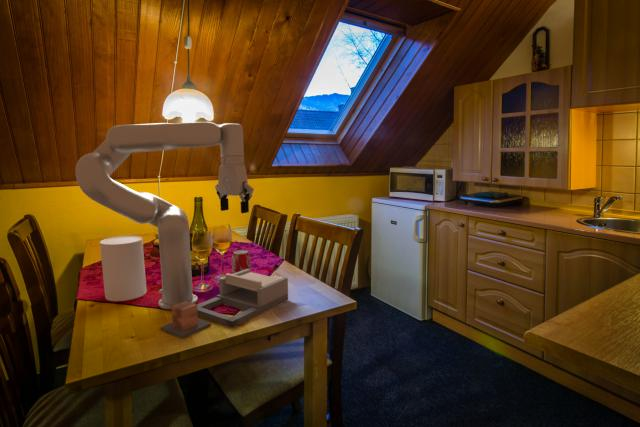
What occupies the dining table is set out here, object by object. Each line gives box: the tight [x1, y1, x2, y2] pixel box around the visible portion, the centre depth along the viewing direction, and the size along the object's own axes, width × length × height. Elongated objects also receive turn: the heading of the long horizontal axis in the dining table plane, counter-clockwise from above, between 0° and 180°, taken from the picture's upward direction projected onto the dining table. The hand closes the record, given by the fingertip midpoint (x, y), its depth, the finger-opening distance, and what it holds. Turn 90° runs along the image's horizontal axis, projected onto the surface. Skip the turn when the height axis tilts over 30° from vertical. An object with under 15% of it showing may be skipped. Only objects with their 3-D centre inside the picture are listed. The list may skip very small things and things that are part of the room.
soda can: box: [231, 249, 252, 274], centre depth 161 cm, size 7×7×12 cm
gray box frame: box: [196, 269, 289, 329], centre depth 136 cm, size 19×26×8 cm
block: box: [171, 301, 199, 330], centre depth 121 cm, size 5×5×6 cm
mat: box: [160, 318, 212, 339], centre depth 121 cm, size 10×10×1 cm
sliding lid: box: [224, 271, 280, 291], centre depth 141 cm, size 15×12×3 cm
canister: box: [99, 235, 148, 302], centre depth 147 cm, size 14×14×20 cm
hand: (234, 211), depth 141 cm, fingers open, 9 cm apart
